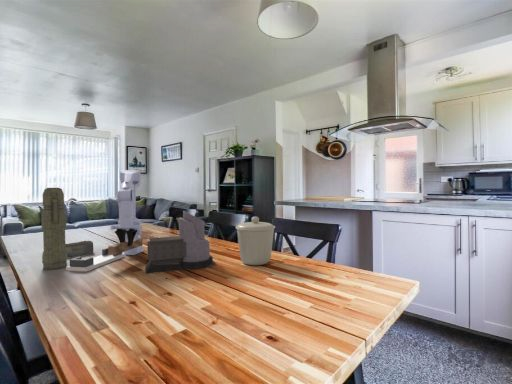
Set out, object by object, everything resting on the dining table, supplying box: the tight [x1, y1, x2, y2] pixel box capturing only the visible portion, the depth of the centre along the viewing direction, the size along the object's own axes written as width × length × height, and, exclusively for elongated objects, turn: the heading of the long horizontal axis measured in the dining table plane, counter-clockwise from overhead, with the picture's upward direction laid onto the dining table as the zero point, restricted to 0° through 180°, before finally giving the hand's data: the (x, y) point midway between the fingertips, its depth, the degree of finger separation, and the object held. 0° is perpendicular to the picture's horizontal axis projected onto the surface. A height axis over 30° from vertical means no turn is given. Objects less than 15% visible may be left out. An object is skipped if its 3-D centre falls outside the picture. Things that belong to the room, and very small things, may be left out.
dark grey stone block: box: [65, 240, 94, 258], centre depth 146 cm, size 8×19×7 cm, turn 131°
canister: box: [235, 216, 276, 266], centre depth 128 cm, size 18×18×21 cm
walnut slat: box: [107, 237, 143, 255], centre depth 129 cm, size 20×3×4 cm, turn 170°
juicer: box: [144, 210, 216, 275], centre depth 124 cm, size 30×16×24 cm, turn 112°
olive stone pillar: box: [40, 187, 68, 271], centre depth 124 cm, size 9×12×35 cm
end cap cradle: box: [65, 247, 126, 272], centre depth 130 cm, size 25×10×4 cm, turn 169°
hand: (126, 245), depth 129 cm, fingers closed on walnut slat, 3 cm apart
